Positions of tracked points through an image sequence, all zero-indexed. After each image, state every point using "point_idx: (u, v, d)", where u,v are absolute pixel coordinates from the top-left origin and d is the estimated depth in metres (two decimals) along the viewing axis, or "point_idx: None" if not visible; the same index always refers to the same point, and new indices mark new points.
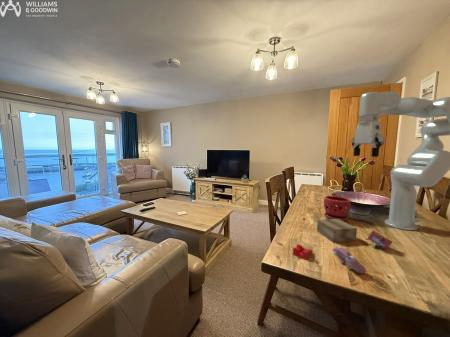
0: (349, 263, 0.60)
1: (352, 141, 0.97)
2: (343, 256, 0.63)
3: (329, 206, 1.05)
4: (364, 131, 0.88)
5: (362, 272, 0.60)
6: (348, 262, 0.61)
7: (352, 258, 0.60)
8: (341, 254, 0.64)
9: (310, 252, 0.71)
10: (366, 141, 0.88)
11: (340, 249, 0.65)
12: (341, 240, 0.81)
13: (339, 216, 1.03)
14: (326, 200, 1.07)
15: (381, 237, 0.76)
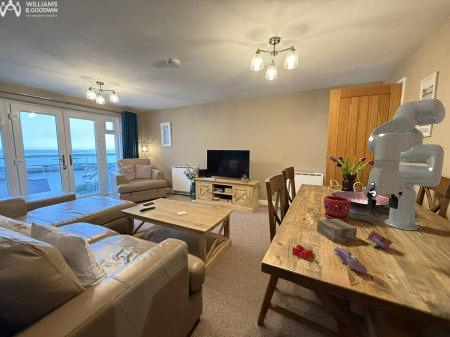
0: (350, 263, 0.60)
1: (368, 190, 0.72)
2: (344, 256, 0.64)
3: (329, 206, 1.05)
4: (393, 180, 0.71)
5: (363, 272, 0.60)
6: (349, 262, 0.61)
7: (353, 258, 0.61)
8: (342, 254, 0.64)
9: (310, 252, 0.71)
10: (393, 192, 0.72)
11: (341, 249, 0.65)
12: (342, 240, 0.81)
13: (339, 216, 1.03)
14: (326, 200, 1.07)
15: (381, 237, 0.76)
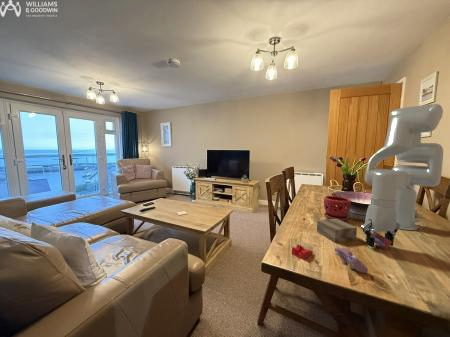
0: (351, 263, 0.60)
1: (366, 229, 0.74)
2: (345, 256, 0.64)
3: (329, 206, 1.05)
4: (389, 218, 0.73)
5: (364, 272, 0.60)
6: (350, 262, 0.61)
7: (354, 258, 0.61)
8: (343, 254, 0.64)
9: (309, 253, 0.70)
10: (390, 229, 0.74)
11: (342, 249, 0.65)
12: (342, 240, 0.81)
13: (339, 216, 1.03)
14: (326, 200, 1.07)
15: (381, 237, 0.76)
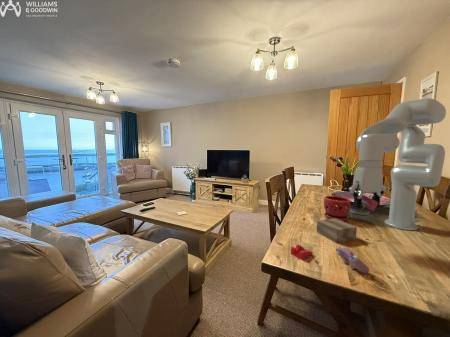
0: (352, 263, 0.61)
1: (353, 190, 0.76)
2: (346, 256, 0.64)
3: (329, 206, 1.05)
4: (376, 179, 0.75)
5: (365, 272, 0.60)
6: (351, 262, 0.61)
7: (355, 258, 0.61)
8: (344, 254, 0.64)
9: (309, 253, 0.70)
10: (376, 190, 0.76)
11: (343, 249, 0.65)
12: (343, 240, 0.81)
13: (339, 216, 1.03)
14: (326, 200, 1.07)
15: (368, 199, 0.77)
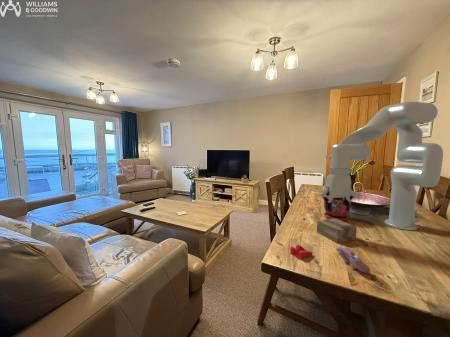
0: (353, 263, 0.61)
1: (324, 195, 0.83)
2: (347, 256, 0.64)
3: None
4: (344, 185, 0.82)
5: (366, 272, 0.60)
6: (352, 262, 0.61)
7: (356, 258, 0.61)
8: (345, 254, 0.64)
9: (308, 254, 0.70)
10: (345, 195, 0.83)
11: (344, 249, 0.65)
12: (343, 240, 0.81)
13: (339, 216, 1.03)
14: None
15: (338, 203, 0.85)
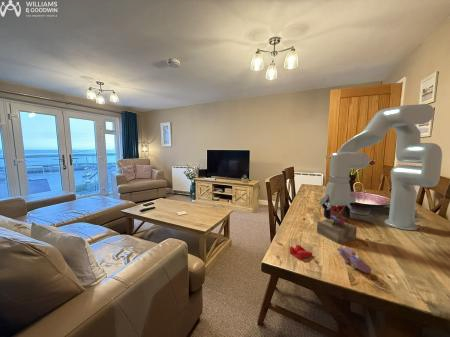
0: (354, 263, 0.61)
1: (323, 202, 0.84)
2: (348, 256, 0.64)
3: None
4: (344, 193, 0.82)
5: (367, 271, 0.60)
6: (353, 262, 0.61)
7: (357, 258, 0.61)
8: (346, 254, 0.64)
9: (308, 254, 0.70)
10: (345, 203, 0.83)
11: (345, 249, 0.65)
12: (344, 240, 0.81)
13: None
14: None
15: (338, 214, 0.85)
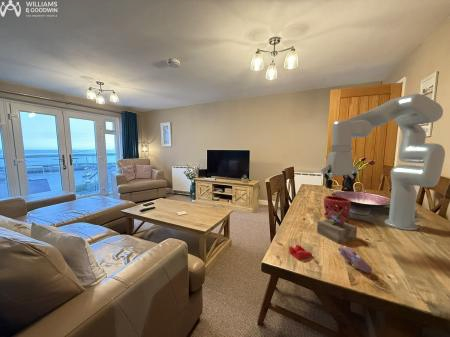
0: (355, 263, 0.61)
1: (325, 172, 0.82)
2: (349, 256, 0.64)
3: (329, 206, 1.05)
4: (346, 162, 0.81)
5: (368, 271, 0.60)
6: (354, 262, 0.61)
7: (358, 258, 0.61)
8: (347, 254, 0.65)
9: (307, 254, 0.69)
10: (347, 173, 0.82)
11: (346, 249, 0.65)
12: (344, 240, 0.81)
13: None
14: (326, 200, 1.07)
15: (338, 215, 0.85)
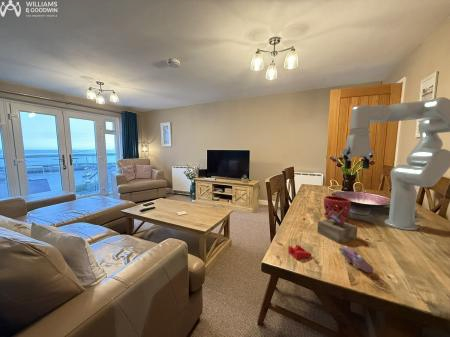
0: (356, 262, 0.61)
1: (344, 153, 0.89)
2: (350, 255, 0.64)
3: (329, 206, 1.05)
4: (364, 144, 0.88)
5: (369, 271, 0.60)
6: (355, 261, 0.61)
7: (359, 257, 0.61)
8: (348, 253, 0.65)
9: (306, 255, 0.69)
10: (365, 154, 0.89)
11: (347, 249, 0.65)
12: (345, 240, 0.81)
13: None
14: (326, 200, 1.07)
15: (338, 214, 0.85)
